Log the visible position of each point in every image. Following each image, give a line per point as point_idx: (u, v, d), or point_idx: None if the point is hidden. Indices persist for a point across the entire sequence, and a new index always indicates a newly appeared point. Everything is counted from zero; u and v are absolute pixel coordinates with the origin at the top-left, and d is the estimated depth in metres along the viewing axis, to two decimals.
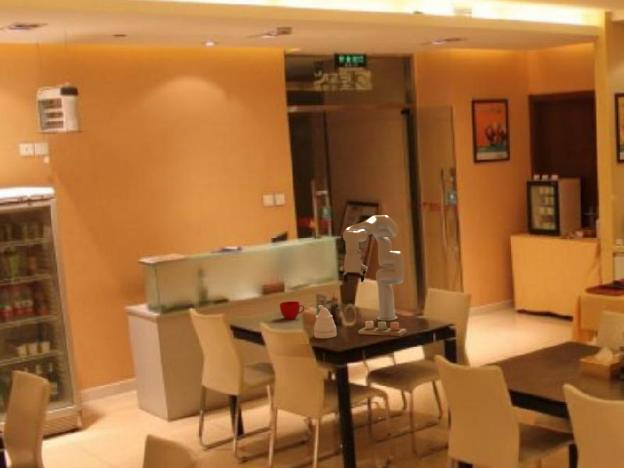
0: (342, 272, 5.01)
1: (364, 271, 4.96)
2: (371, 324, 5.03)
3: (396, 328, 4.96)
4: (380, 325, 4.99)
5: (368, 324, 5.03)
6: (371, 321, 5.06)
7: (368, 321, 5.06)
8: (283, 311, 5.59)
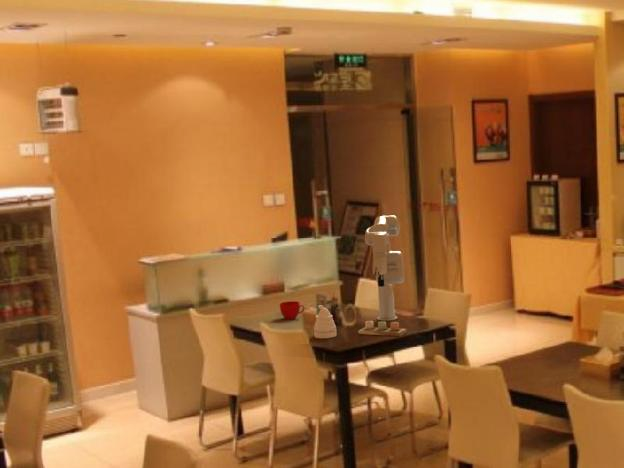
0: (380, 277, 4.98)
1: (383, 275, 5.02)
2: (371, 324, 5.03)
3: (396, 328, 4.96)
4: (380, 325, 4.99)
5: (368, 324, 5.03)
6: (371, 321, 5.06)
7: (368, 321, 5.06)
8: (283, 311, 5.59)
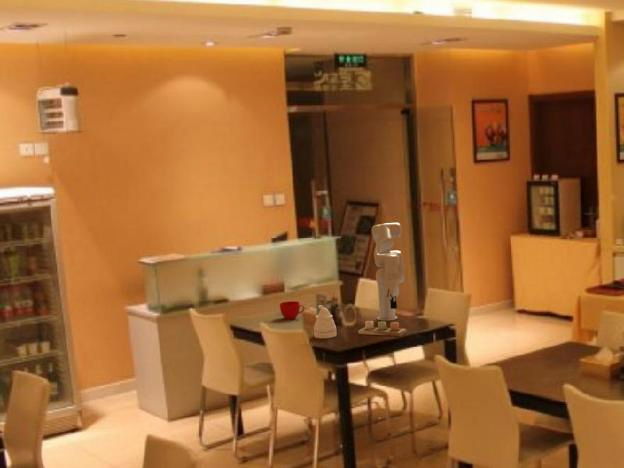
0: (392, 299, 4.93)
1: None
2: (371, 324, 5.03)
3: (396, 328, 4.96)
4: (380, 325, 4.99)
5: (368, 324, 5.03)
6: (371, 321, 5.06)
7: (368, 321, 5.06)
8: (283, 311, 5.59)
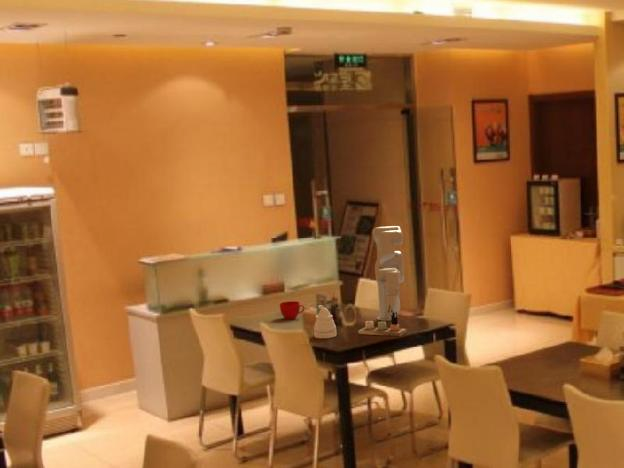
0: (393, 315, 4.94)
1: None
2: (371, 324, 5.03)
3: (396, 329, 4.96)
4: (380, 325, 4.99)
5: (368, 324, 5.03)
6: (371, 321, 5.06)
7: (368, 321, 5.06)
8: (283, 311, 5.59)
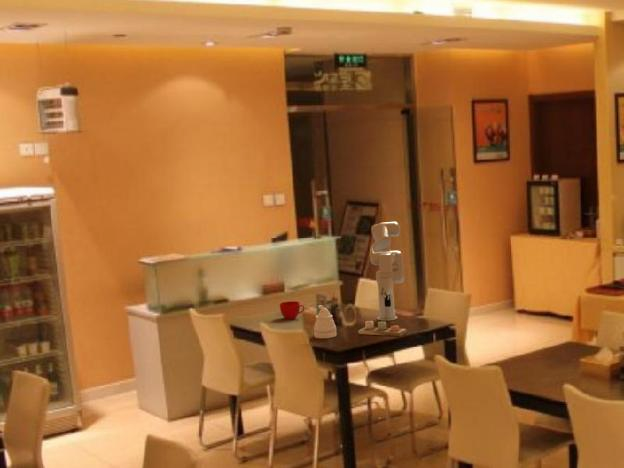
0: (387, 297, 4.95)
1: None
2: (371, 324, 5.03)
3: (396, 331, 4.96)
4: (380, 325, 4.99)
5: (368, 324, 5.03)
6: (371, 321, 5.06)
7: (368, 321, 5.06)
8: (283, 311, 5.59)
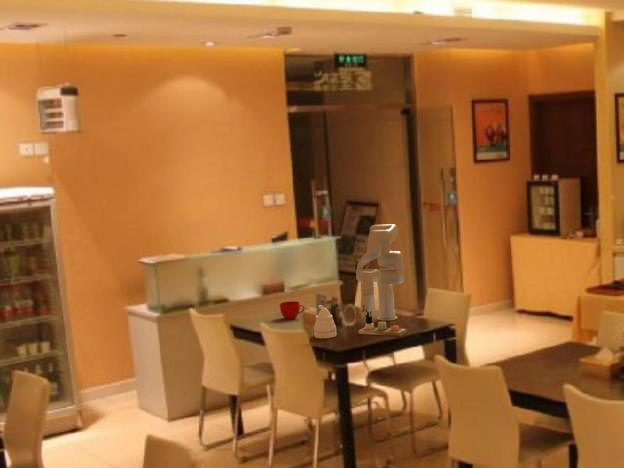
0: (368, 314, 5.02)
1: (371, 312, 5.06)
2: (371, 326, 5.03)
3: (396, 331, 4.96)
4: (380, 325, 4.99)
5: (368, 326, 5.03)
6: (371, 323, 5.06)
7: None
8: (283, 311, 5.59)
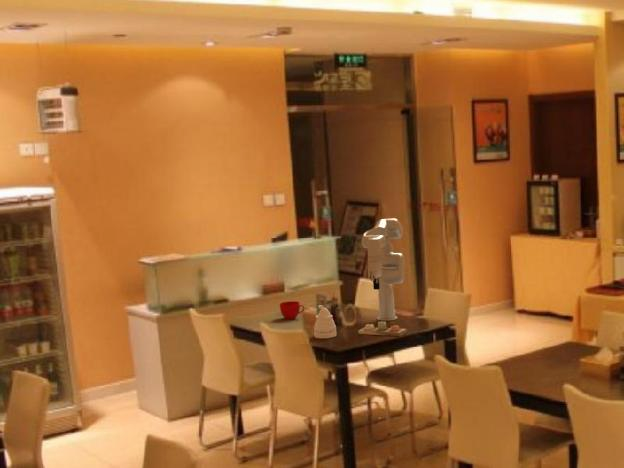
0: (375, 280, 5.09)
1: None
2: (371, 327, 5.04)
3: (396, 331, 4.96)
4: (380, 325, 4.99)
5: (368, 327, 5.03)
6: (371, 324, 5.06)
7: (368, 324, 5.07)
8: (283, 311, 5.59)
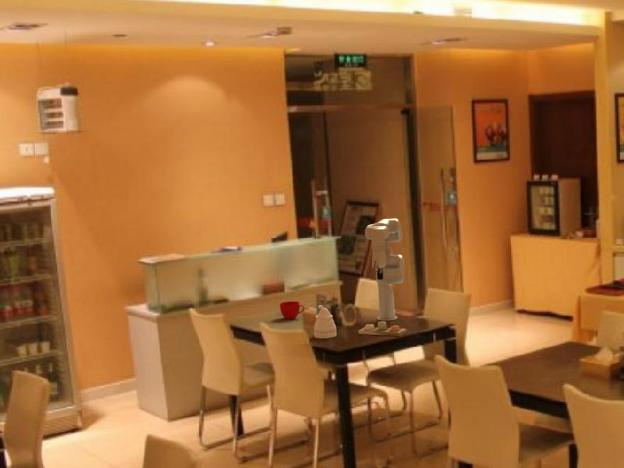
0: (379, 270, 5.11)
1: (382, 268, 5.15)
2: (371, 327, 5.04)
3: (396, 331, 4.96)
4: (380, 325, 4.99)
5: (368, 327, 5.03)
6: (371, 324, 5.06)
7: (368, 324, 5.07)
8: (283, 311, 5.59)
